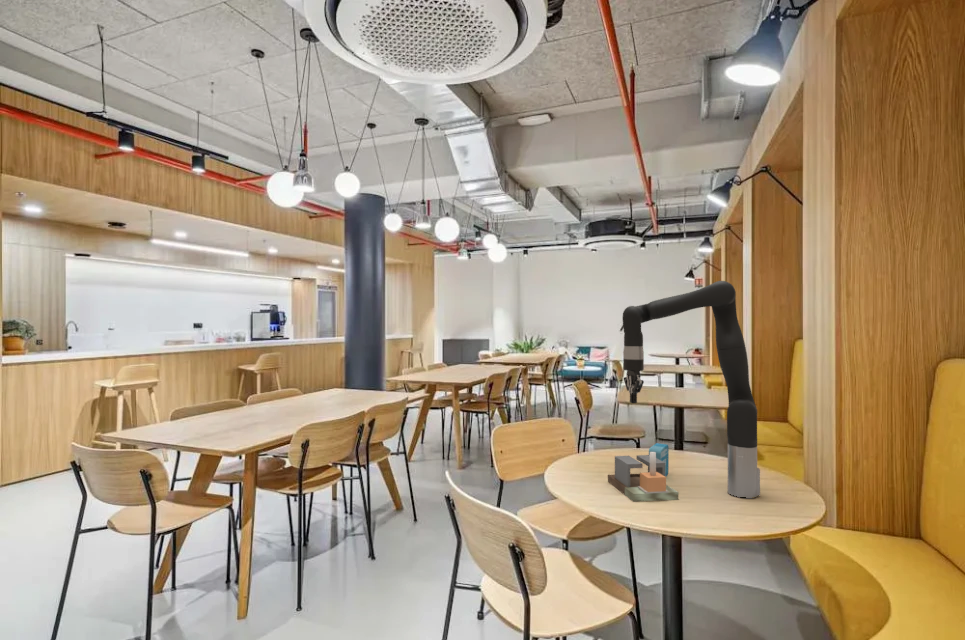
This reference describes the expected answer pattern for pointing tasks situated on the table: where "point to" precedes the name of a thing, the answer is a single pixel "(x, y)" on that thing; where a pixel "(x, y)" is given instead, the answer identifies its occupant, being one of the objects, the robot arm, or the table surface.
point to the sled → (652, 479)
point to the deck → (639, 495)
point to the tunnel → (628, 462)
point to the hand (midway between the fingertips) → (633, 403)
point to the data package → (661, 454)
